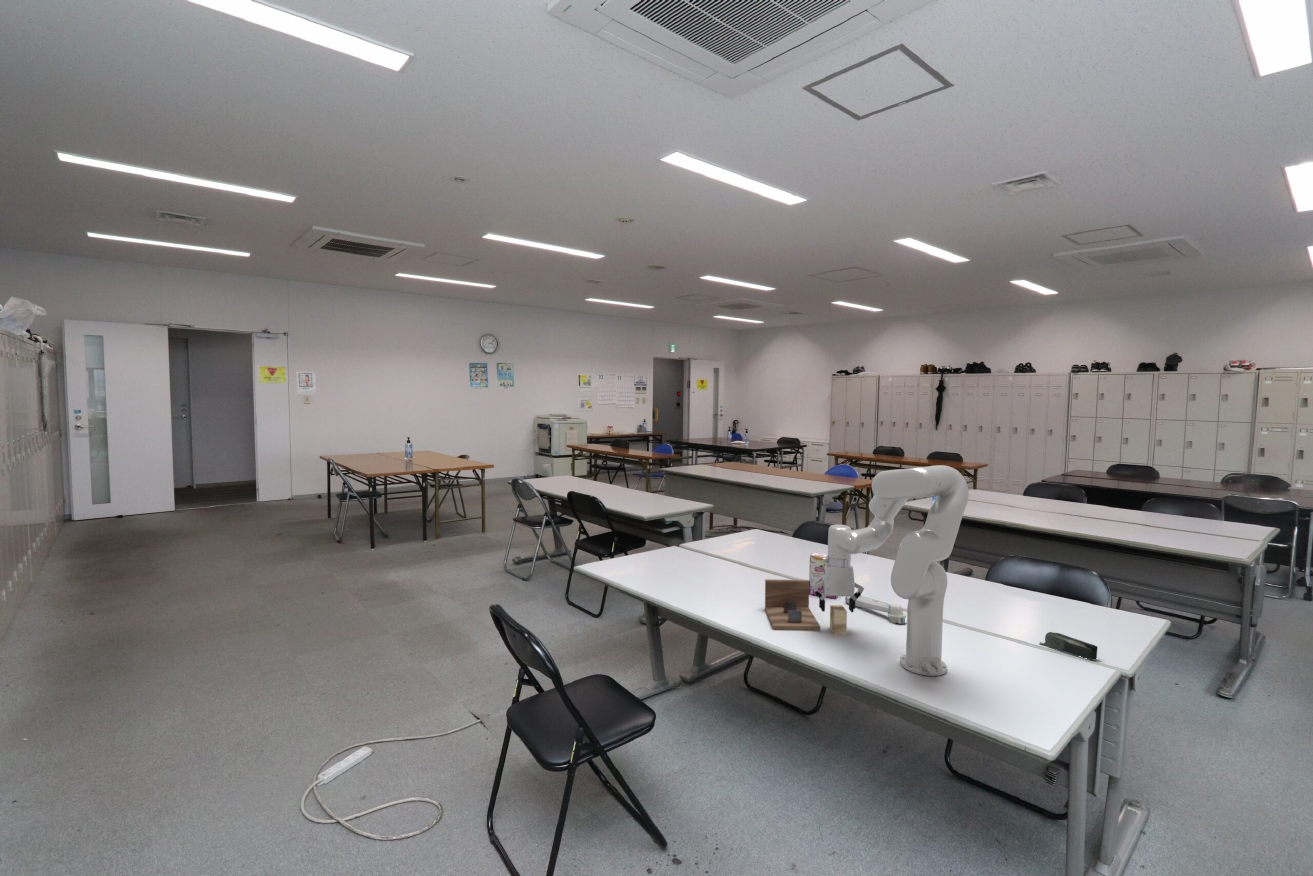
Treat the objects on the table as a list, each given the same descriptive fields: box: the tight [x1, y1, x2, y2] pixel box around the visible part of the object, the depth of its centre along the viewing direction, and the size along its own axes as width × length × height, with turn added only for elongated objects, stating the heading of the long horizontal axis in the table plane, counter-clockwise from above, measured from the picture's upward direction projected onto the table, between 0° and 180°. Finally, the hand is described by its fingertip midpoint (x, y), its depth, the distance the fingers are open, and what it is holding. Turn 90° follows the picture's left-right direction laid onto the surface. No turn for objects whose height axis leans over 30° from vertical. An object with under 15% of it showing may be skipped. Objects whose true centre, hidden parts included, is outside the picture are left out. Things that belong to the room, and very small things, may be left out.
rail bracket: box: [829, 604, 848, 635], centre depth 198 cm, size 6×4×8 cm, turn 178°
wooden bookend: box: [764, 578, 821, 631], centre depth 209 cm, size 20×16×12 cm
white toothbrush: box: [844, 596, 907, 625], centre depth 215 cm, size 5×7×25 cm
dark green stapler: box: [1038, 631, 1098, 660], centre depth 182 cm, size 5×3×15 cm
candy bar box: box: [808, 552, 839, 600], centre depth 234 cm, size 11×5×16 cm, turn 59°
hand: (836, 610), depth 199 cm, fingers open, 9 cm apart
